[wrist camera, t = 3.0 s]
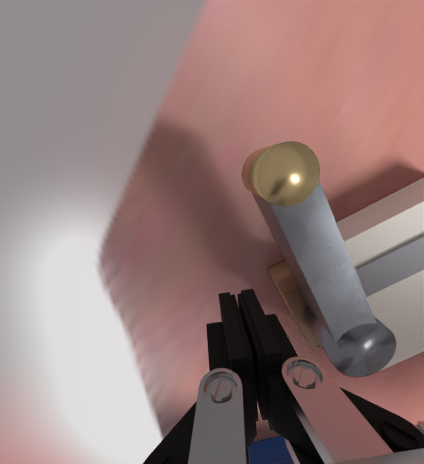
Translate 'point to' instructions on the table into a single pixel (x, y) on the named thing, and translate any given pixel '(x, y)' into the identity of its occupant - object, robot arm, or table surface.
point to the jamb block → (292, 298)
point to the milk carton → (270, 452)
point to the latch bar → (317, 257)
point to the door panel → (392, 263)
